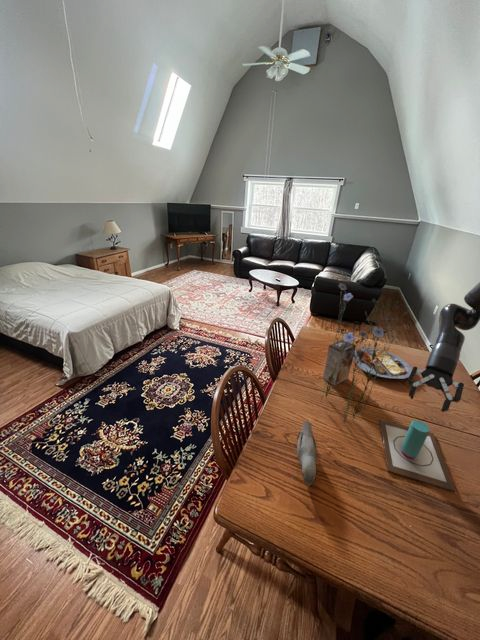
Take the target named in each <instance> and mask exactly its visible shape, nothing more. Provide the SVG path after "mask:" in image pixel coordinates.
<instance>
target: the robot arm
mask: <svg viewBox="0 0 480 640" xmlns="http://www.w3.org/2000/svg"><path fill="white" fill-rule="evenodd" d="M463 300H464V302H465V304H466V305H467V306H469V308H471V309H469V308H466V307H465V306H461V305H459V304H457V303H448V304H445V305H444V306H443V307H442V308H441V310H440V312H439V316H438V334H437V338H436V340H435V342H434V346H433V347H432V349H431V350H430V353H429V356H428V359H427V362H426V364H425V367H424V369H420V368H418V367H417V366H413V367H412V368H411V369H412V371H411V373H410V375H409V377H408V378H407V379H406V384H407V385H409V386H410V390H409V393H408V396H409V397H410V398H409V399H410V400H413V399H414V397H415V394H416V392H417V389H418V387H421V386H423V385H426V387H428V388H433V389H435V390H437V391H441V393H442V394H443V396H444V398H445V399H444V401H443V404H442V407H441V410H440V412H442V413H445V412H447V411H448V410H449V409H450V407H451V403H452V402H453V403H459V402H460V401H461V398H462V395H463V391H464V387H465V384H464V383H463V382H457V381H455V380H453V379H454V375H455V371H456V368H457V366H458V364H459V360H460V357H461V352H462V348H463V346H464V343H465V339H466V338H465V334H464V333H463V332H461V331H470V330H472V329H474V328H475V327H476V326H477V325H478V324H479V322H480V281H479V282H478V283H477V284H476V285H475V286H474V287H472V289H470V290H469V291H468V292H467V293H466V294H465V295H464V298H463ZM460 330H461V331H460ZM419 374H420V375H421V379H419V380H417V381H415V382H414V381H413V380H414V378H415V376H418V375H419ZM451 386H453V389H454V390H455V392H454V396H452V394H451V392H450V389H449V387H451Z"/></svg>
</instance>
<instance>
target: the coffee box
mask: <svg viewBox="0 0 480 640" xmlns="http://www.w3.org/2000/svg"><path fill="white" fill-rule="evenodd" d="M340 340H341V341H340ZM340 340H338V344H339V342H340V344H339V345H338V347H337V341H335V344H334V343H331V344H329V346H328V350H327V355H326V360H325V365H324V369H323V373H322V374H323V375H322V379H323V380H324V381H325V380H326V382H328V381H329V383H330V382H331V381H330V380H329V378H330V377H331V380H333V379H334V378H335V379H334V381H332V382H331V383H332V384H333V385H332V384H331V385H332V386H337V385H338V384H340V383H342V382H344V381H345V380H347V379H349V375H350V371H351V367H352V364H353V360H354V358H353V354H354V351H355V350H354V349H357V346H356V345H357V344H356V345H355V344H354V345H355V346H356V347H355V348H354V349H352V346H353V343H352V342H350V343H348V342H344V340H343V343H344V344H343V343H341V342H342V339H340ZM346 343H347V344H346ZM342 344H343V347H342ZM333 345H334V347H333ZM345 345H346V346H345ZM344 347H346V348H345V349H344ZM332 348H333V349H334V350H332ZM343 349H344V350H343ZM351 349H352V350H351ZM341 350H343V351H342V352H341ZM350 350H351V352H350V353H349V351H350ZM332 351H333V352H335V353H333V352H332ZM331 352H332V353H331ZM340 353H341V354H340ZM347 353H348V354H347ZM335 354H336V355H335ZM346 354H347V355H346ZM337 355H338V358H337V357H336V356H337ZM345 355H346V356H345ZM330 356H331V357H330ZM344 356H345V357H346V358H345V357H344ZM343 357H344V358H345V359H344V360H341V359H342V358H343ZM330 359H331V361H329V360H330ZM333 359H334V362H333ZM337 359H338V362H339V361H340V360H341V361H340V362H339V363H338V364H337V367H336V363H337ZM329 363H332V364H329ZM334 363H335V364H334ZM328 366H329V368H328ZM335 367H336V370H335ZM327 369H328V370H327ZM333 369H334V370H335V374H334V376H333V378H332V372H333ZM327 371H329V372H328V374H327ZM326 376H327V377H326ZM326 378H327V379H326ZM335 381H336V382H335ZM333 382H334V383H333Z"/></svg>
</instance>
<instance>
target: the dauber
mask: <svg viewBox="0 0 480 640" xmlns="http://www.w3.org/2000/svg"><path fill="white" fill-rule="evenodd" d="M408 427H409V429H408V432H407V434H406V436H405V439H404V441H403V443H402V446H401V452H402V454H403V455H404V456H405V457H406V458H409V459H414V458H415V457H417V456H418V454H419V452H420V450H421V448H422V446H423V444H424V442H425V440H426V437H427V435H428V433H430V431H431V428H430V426H429V425H428V424H426V423H425V422H424V421H421V420H417V419H414V420H412V421H411V423H410V425H409V426H408Z"/></svg>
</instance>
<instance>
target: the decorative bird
mask: <svg viewBox="0 0 480 640" xmlns="http://www.w3.org/2000/svg"><path fill="white" fill-rule="evenodd" d="M295 440H297V444H296V454H297V459H298V461H299V463H300V466H301V473H302V477H303V481H304V484H305V486H306V487H307V488H308V487H311V485H312V484H313V483H314V481H315V479H316V477H317V476H316V475H317V465H316V460H317V455H318V448H317V441H316V439H315V436H314V433H313V428H312V423H311V422H310V421H309V420H305V421H303V422H302V429H301V430H300V431H299V433H298V435H297V437H296V438H295Z"/></svg>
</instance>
